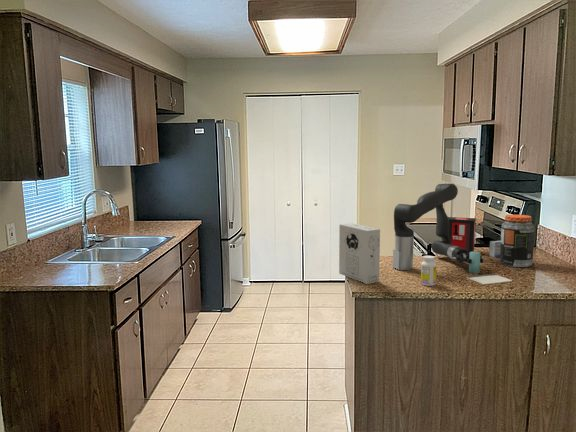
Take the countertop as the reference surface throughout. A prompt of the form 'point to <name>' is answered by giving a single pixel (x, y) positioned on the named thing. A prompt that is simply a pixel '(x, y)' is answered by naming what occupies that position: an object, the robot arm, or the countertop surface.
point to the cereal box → (359, 252)
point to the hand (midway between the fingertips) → (476, 261)
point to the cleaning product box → (462, 232)
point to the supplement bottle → (428, 271)
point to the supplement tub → (517, 241)
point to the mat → (489, 279)
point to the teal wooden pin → (474, 262)
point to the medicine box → (494, 248)
